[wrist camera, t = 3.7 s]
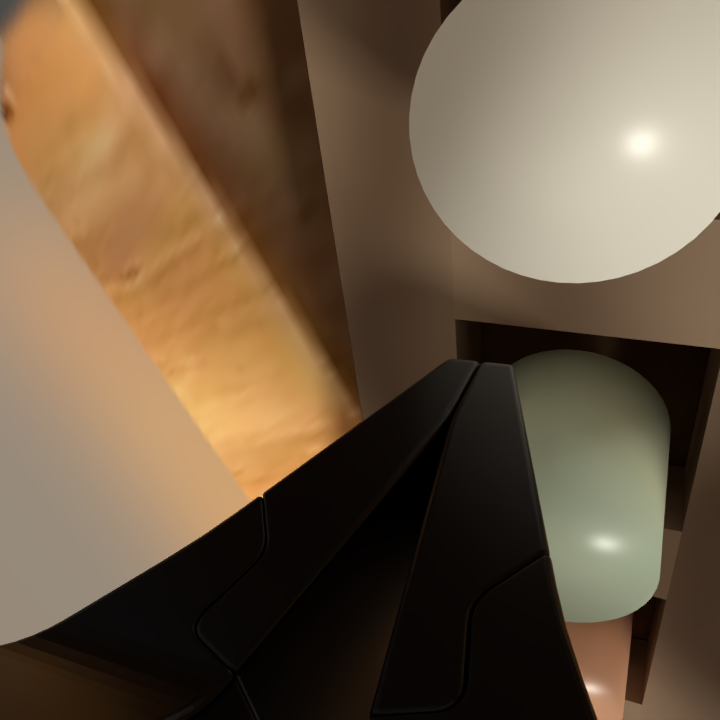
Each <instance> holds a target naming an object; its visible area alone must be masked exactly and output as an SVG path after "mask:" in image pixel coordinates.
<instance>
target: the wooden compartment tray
mask: <svg viewBox="0 0 720 720" xmlns="http://www.w3.org/2000/svg"><path fill="white" fill-rule="evenodd" d="M461 1H462V0H297V3H298V9H299V15H300V22H301V28H302V35H303V41H304V47H305V54H306V60H307V67H308V73H309V79H310V86H311V92H312V99H313V105H314V111H315V118H316V124H317V131H318V137H319V143H320V150H321V156H322V162H323V169H324V175H325V182H326V188H327V194H328V201H329V207H330V214H331V220H332V226H333V233H334V239H335V246H336V252H337V258H338V265H339V271H340V278H341V284H342V290H343V297H344V303H345V310H346V316H347V322H348V329H349V335H350V341H351V348H352V354H353V361H354V367H355V373H356V380H357V386H358V393H359V399H360V405H361V412H362V418H363V421H364V420H365V419H366V418H368V417H369V416H370V415H372V414H373V413H375V412H376V411H377V410H379V409H380V408H381V407H383V406H384V405H386V404H387V403H388V402H390V401H391V400H392V399H394V398H395V397H397V396H398V395H399V394H401V393H402V392H403V391H405V390H406V389H408V388H409V387H410V386H412V385H413V384H415V383H416V382H417V381H419V380H420V379H421V378H423V377H424V376H426V375H427V374H428V373H430V372H431V371H432V370H434V369H435V368H437V367H438V366H439V365H441V364H442V363H443V362H445V361H447V360H449V359H461V360H470V361H477V362H478V363H479V364H480V365H481V364H482V340H481V322H486V323H494V324H503V325H512V326H521V327H530V328H539V329H548V330H557V331H566V332H574V333H583V334H592V335H601V336H610V337H619V338H628V339H637V340H646V341H654V342H663V343H672V344H681V345H690V346H699V347H708V348H711V350H710V355H709V360H708V364H707V369H706V373H705V378H704V383H703V387H702V392H701V396H700V401H699V406H698V410H697V415H696V420H695V424H694V429H693V433H692V438H691V443H690V447H689V452H688V456H687V461H686V466H685V467H681V466H675V465H669V464H668V474H667V487H666V501H665V514H664V528H663V541H662V555H661V568H660V579H659V583H658V586H657V589H656V591H655V593H654V594H653V597H657V600H656V604H655V609H654V613H653V618H652V623H651V627H650V632H649V637H648V641H645V640H641V639H637V638H634V637H631V644H630V654H629V664H628V673H627V683H626V693H625V702H624V712H623V718H622V720H720V212H719V213H718V215H717V216H716V217H715V218H714V220H713V221H712V222H711V223H710V224H709V225H708V226H707V227H706V228H705V229H704V230H703V231H702V232H701V233H700V234H699V235H698V236H697V237H696V238H695V239H693V240H692V241H691V242H689V243H688V244H687V245H685V246H684V247H683V248H681V249H680V250H679V251H677V252H676V253H674V254H673V255H671V256H669V257H667V258H666V259H664V260H662V261H661V262H659V263H657V264H655V265H652V266H650V267H648V268H645V269H643V270H641V271H639V272H635V273H632V274H629V275H626V276H623V277H619V278H615V279H610V280H604V281H599V282H588V283H557V282H550V281H544V280H538V279H534V278H530V277H526V276H522V275H519V274H517V273H514V272H511V271H509V270H506V269H503V268H501V267H499V266H498V265H496V264H494V263H492V262H490V261H488V260H486V259H485V258H483V257H482V256H480V255H479V254H477V253H476V252H474V251H473V250H471V249H470V248H469V247H468V246H466V245H465V244H464V243H463V242H462V241H461V240H459V239H458V238H457V237H456V236H455V235H454V234H453V233H452V231H451V230H450V229H449V228H448V227H447V226H446V225H445V224H444V223H443V221H442V220H441V218H440V217H439V216H438V214H437V213H436V211H435V210H434V209H433V207H432V205H431V203H430V202H429V200H428V198H427V196H426V194H425V193H424V190H423V188H422V185H421V183H420V180H419V178H418V175H417V172H416V168H415V165H414V161H413V157H412V151H411V144H410V137H409V113H410V104H411V95H412V91H413V87H414V83H415V78H416V75H417V72H418V69H419V67H420V64H421V61H422V59H423V56H424V54H425V52H426V50H427V48H428V46H429V44H430V43H431V41H432V39H433V37H434V35H435V34H436V32H437V31H438V29H439V28H440V26H441V25H442V24H443V22H444V21H445V19H446V18H447V16H448V15H449V14H450V13H451V12H452V11H453V10H454V9H455V8H456V7H457V6H458V4H459V3H460V2H461Z"/></svg>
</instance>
